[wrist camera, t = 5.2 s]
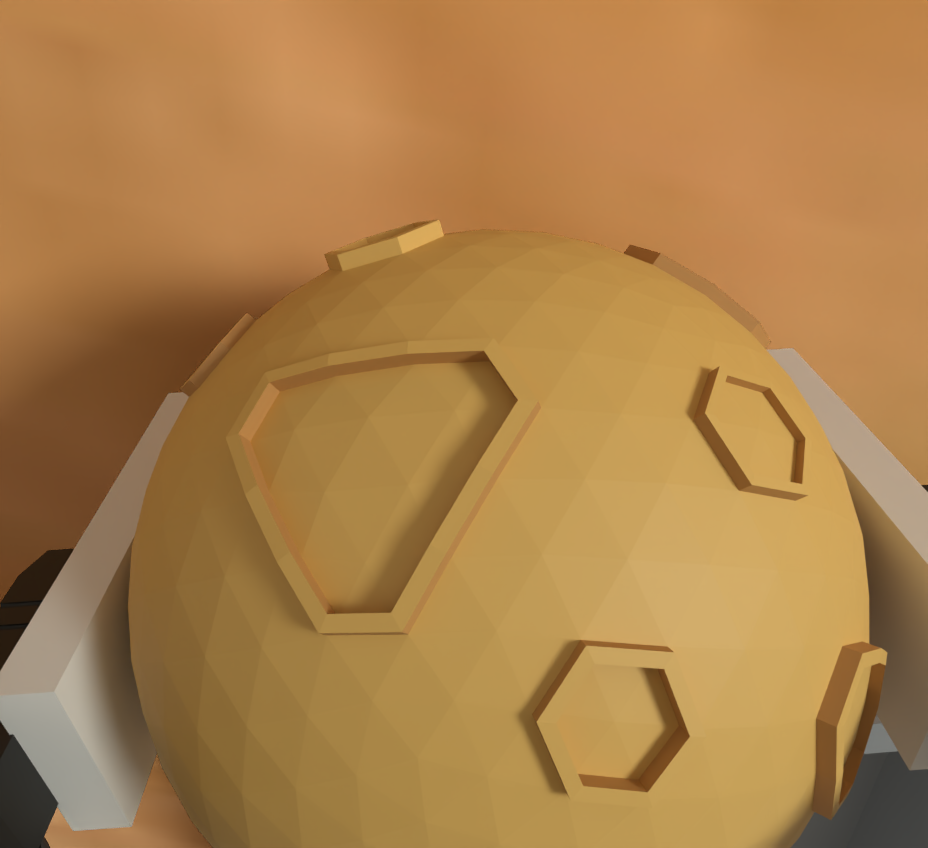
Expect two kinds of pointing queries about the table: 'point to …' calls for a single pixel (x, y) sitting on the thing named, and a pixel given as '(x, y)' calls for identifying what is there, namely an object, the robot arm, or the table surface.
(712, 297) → the stress ball
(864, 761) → the tray
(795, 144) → the table surface
